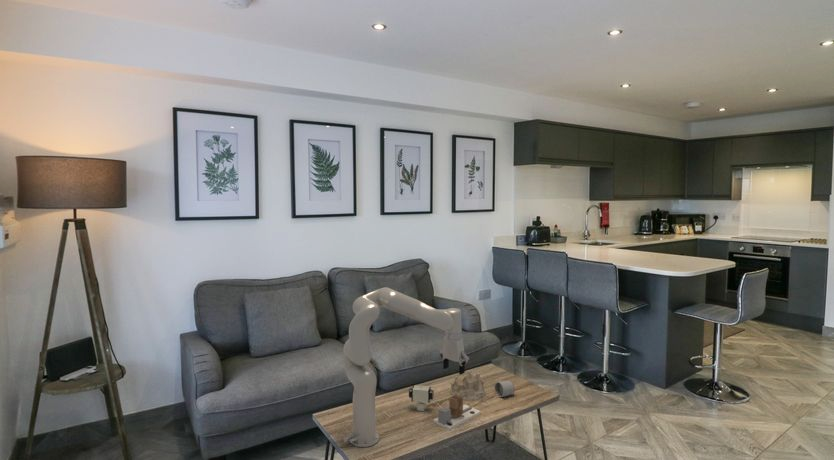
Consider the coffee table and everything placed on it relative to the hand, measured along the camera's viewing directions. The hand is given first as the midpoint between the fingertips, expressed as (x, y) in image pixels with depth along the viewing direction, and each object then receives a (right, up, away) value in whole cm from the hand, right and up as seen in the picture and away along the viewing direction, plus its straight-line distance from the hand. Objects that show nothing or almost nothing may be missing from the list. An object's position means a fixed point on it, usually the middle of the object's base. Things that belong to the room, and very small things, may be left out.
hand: (453, 370), depth 213 cm
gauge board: (+2, -22, 0) cm, 22 cm away
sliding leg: (+2, -20, -2) cm, 20 cm away
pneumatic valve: (-15, -22, +9) cm, 28 cm away
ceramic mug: (+28, -20, +25) cm, 43 cm away
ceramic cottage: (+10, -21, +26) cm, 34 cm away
